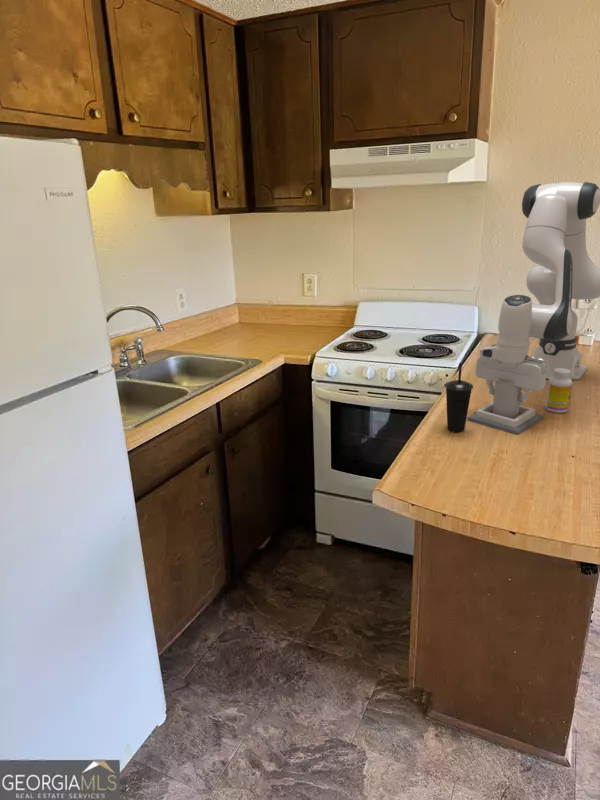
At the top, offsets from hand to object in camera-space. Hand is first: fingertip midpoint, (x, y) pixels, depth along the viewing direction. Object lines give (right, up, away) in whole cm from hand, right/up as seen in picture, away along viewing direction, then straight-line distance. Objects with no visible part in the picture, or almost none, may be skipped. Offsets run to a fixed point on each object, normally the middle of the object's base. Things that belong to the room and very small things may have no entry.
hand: (507, 397), depth 169 cm
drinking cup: (-16, -9, -3) cm, 19 cm away
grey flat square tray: (0, -6, +2) cm, 7 cm away
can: (0, -6, +2) cm, 6 cm away
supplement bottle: (+18, -4, +8) cm, 21 cm away
